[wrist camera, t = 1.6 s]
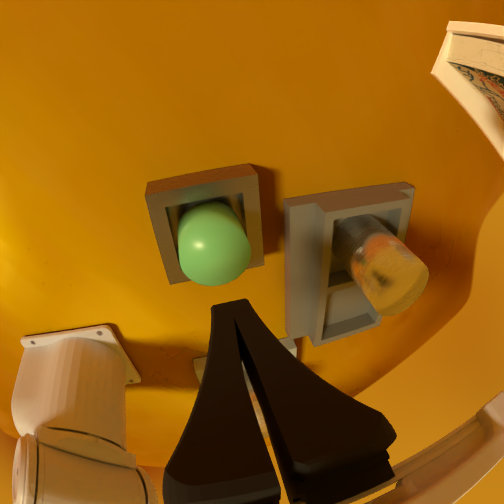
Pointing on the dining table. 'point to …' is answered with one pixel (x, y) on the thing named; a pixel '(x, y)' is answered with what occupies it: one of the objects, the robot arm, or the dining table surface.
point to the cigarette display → (475, 74)
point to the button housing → (200, 190)
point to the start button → (212, 244)
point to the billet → (256, 407)
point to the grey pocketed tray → (333, 259)
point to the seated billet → (379, 264)
